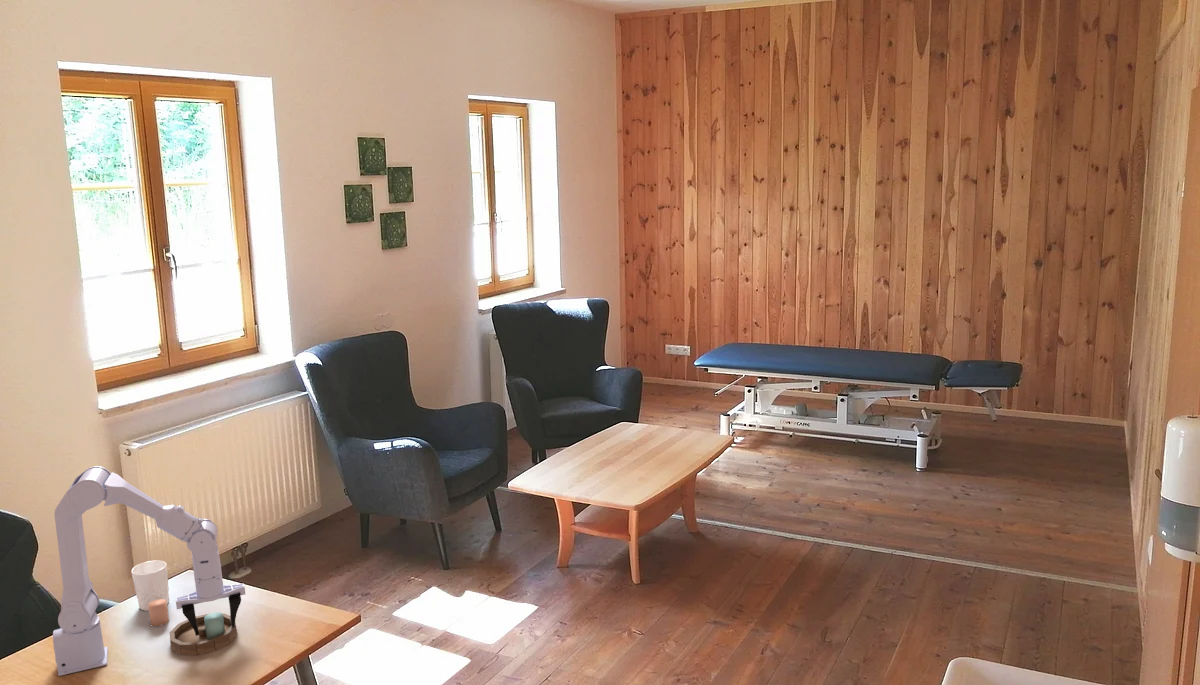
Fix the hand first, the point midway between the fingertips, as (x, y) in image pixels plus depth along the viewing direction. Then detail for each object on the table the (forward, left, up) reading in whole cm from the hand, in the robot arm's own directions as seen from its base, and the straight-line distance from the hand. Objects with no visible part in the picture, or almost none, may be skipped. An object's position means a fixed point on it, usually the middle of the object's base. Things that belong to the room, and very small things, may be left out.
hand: (215, 629), depth 219 cm
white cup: (-12, +26, -3) cm, 29 cm away
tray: (-2, +2, -3) cm, 5 cm away
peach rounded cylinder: (-12, +16, -3) cm, 20 cm away
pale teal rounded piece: (0, 0, -2) cm, 2 cm away
